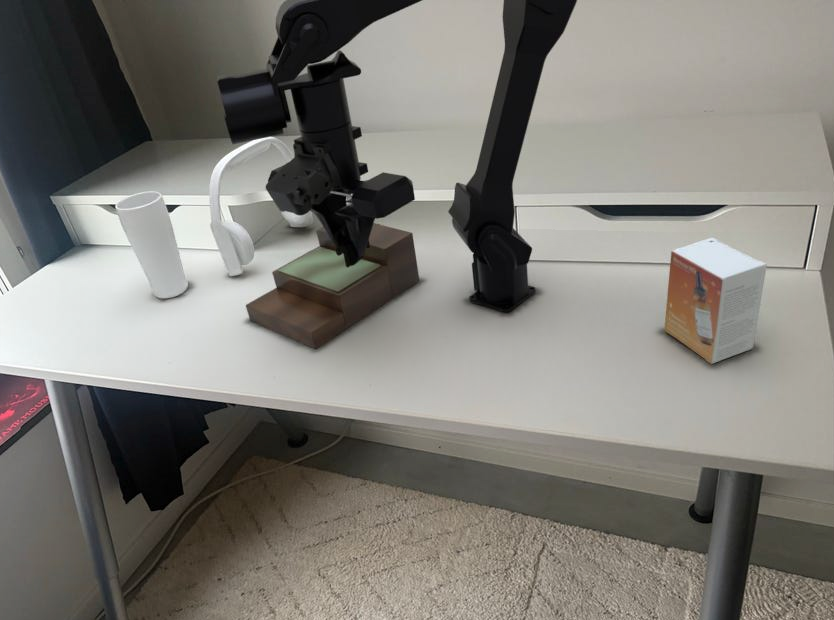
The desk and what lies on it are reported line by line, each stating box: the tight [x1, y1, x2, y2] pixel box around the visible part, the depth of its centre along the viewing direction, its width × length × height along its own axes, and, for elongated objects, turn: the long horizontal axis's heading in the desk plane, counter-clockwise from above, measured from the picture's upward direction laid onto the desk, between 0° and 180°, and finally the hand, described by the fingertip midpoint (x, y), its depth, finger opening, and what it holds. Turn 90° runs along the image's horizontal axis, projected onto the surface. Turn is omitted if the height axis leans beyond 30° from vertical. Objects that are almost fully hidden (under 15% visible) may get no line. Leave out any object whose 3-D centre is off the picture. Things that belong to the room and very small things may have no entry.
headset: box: [208, 136, 314, 277], centre depth 113 cm, size 20×7×18 cm, turn 148°
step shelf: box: [245, 222, 420, 350], centre depth 99 cm, size 14×20×8 cm
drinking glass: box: [115, 190, 189, 299], centre depth 107 cm, size 7×7×15 cm
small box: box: [663, 237, 768, 365], centre depth 77 cm, size 8×6×10 cm
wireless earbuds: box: [333, 225, 370, 268], centre depth 86 cm, size 7×2×5 cm, turn 152°
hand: (351, 253), depth 87 cm, fingers closed on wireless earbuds, 3 cm apart
